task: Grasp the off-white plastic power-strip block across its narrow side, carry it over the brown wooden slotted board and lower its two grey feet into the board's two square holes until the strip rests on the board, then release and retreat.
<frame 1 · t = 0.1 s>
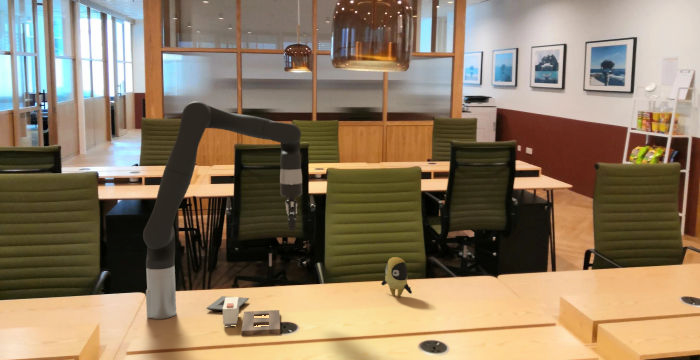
hand: (291, 227, 210), 29 cm above the table, fingers open, 8 cm apart
electrical outlet: (228, 308, 215), on the table
figurine: (396, 296, 227), on the table
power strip: (231, 321, 200), on the table
brown wooden slotted board: (261, 324, 198), on the table
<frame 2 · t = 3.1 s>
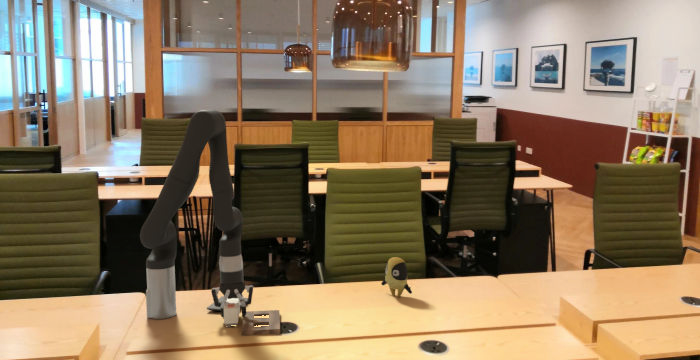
hand: (234, 317, 200), 1 cm above the table, fingers open, 5 cm apart
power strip: (232, 321, 201), on the table, touching gripper
everything else where it was.
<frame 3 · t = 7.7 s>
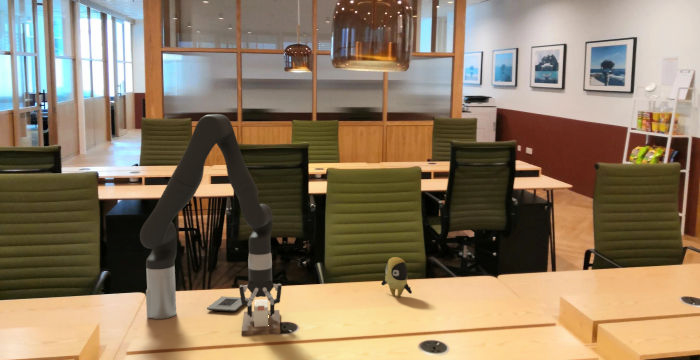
hand: (261, 315, 197), 3 cm above the table, fingers open, 6 cm apart
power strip: (261, 324, 198), on the table, touching brown wooden slotted board
everything else where it was.
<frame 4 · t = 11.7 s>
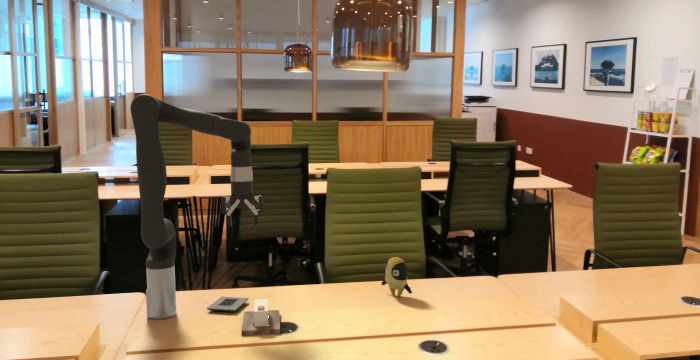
hand: (242, 225, 209), 30 cm above the table, fingers open, 8 cm apart
nothing on the table moved.
at the end: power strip 0.1 cm off-centre on the brown wooden slotted board, point 0.0 cm above the brown wooden slotted board's base; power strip tilted 0°; the gripper is holding nothing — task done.
